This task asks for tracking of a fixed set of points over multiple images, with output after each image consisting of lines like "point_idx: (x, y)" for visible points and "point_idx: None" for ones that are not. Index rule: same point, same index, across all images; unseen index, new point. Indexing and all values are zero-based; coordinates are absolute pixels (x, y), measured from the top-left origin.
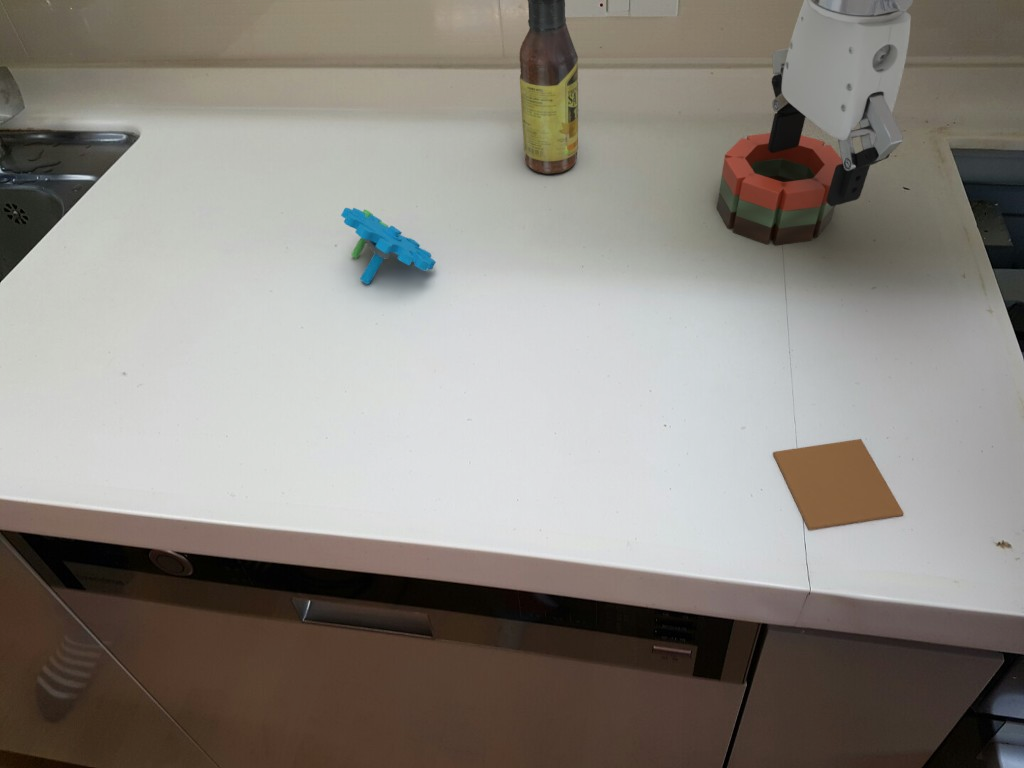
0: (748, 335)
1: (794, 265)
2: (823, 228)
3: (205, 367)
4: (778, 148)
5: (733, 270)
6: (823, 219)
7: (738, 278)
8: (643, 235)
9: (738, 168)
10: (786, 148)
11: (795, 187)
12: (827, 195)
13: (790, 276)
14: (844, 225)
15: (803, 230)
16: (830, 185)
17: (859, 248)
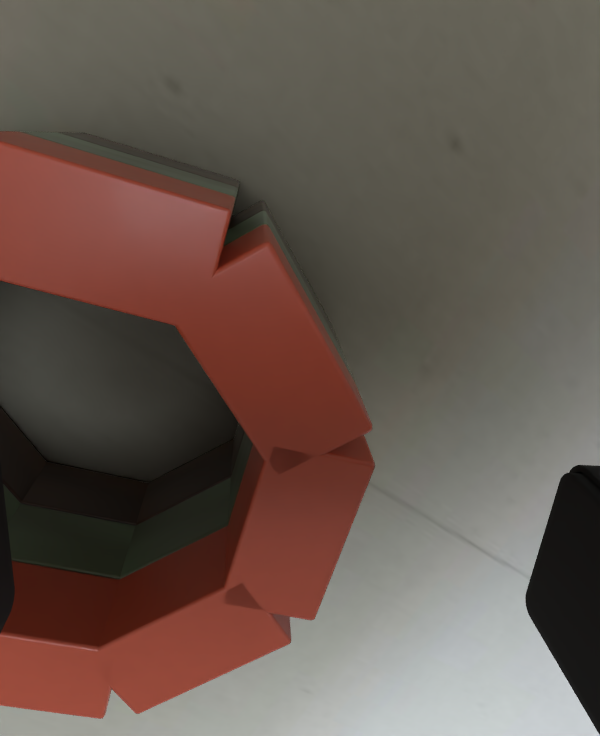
0: (544, 685)
1: (405, 468)
2: (307, 281)
3: None
4: (5, 589)
5: (331, 611)
6: (332, 332)
7: (367, 616)
8: (78, 725)
9: (30, 687)
10: (4, 527)
11: (290, 568)
12: (541, 634)
13: (438, 504)
14: (318, 178)
15: None
16: (569, 683)
17: (458, 230)
